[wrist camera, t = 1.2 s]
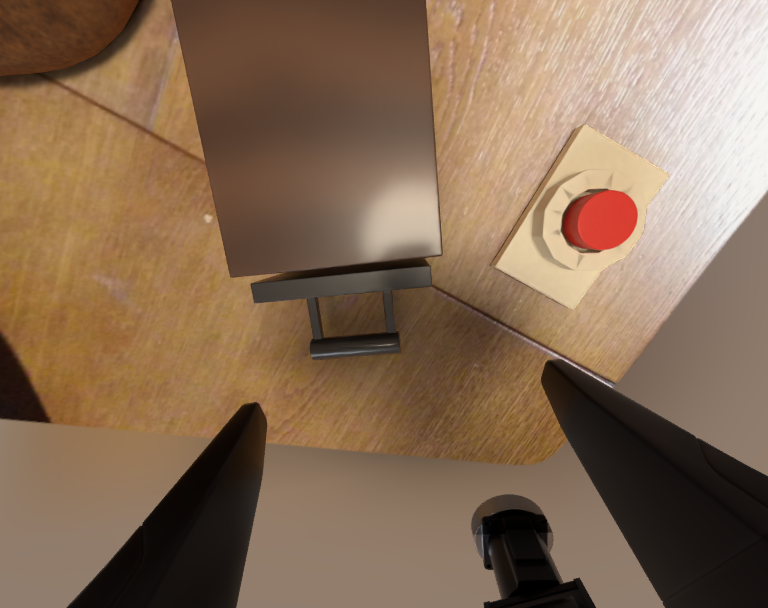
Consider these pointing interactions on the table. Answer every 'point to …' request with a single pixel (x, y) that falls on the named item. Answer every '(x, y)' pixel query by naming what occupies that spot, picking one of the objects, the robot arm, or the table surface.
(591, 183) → the control block
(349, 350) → the brown drawer
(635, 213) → the button
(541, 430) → the table surface
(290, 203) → the brown wooden drawer box
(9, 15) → the bread
